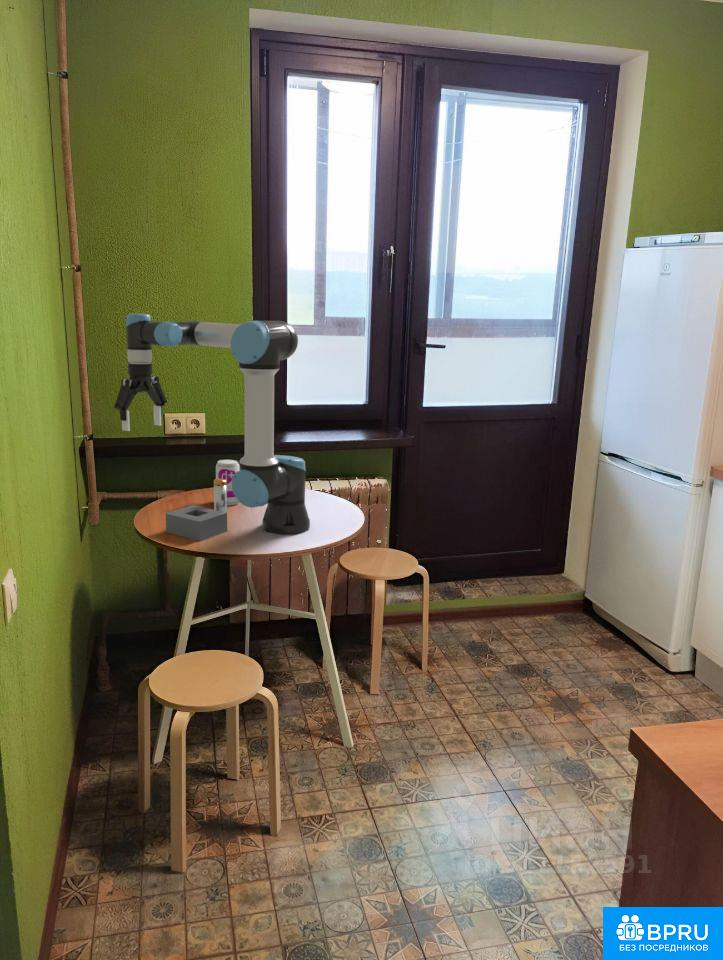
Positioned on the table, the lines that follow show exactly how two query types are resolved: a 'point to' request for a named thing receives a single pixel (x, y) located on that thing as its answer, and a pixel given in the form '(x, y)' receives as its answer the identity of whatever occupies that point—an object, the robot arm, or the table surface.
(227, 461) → the supplement can
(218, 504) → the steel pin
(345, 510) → the table surface
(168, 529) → the block
